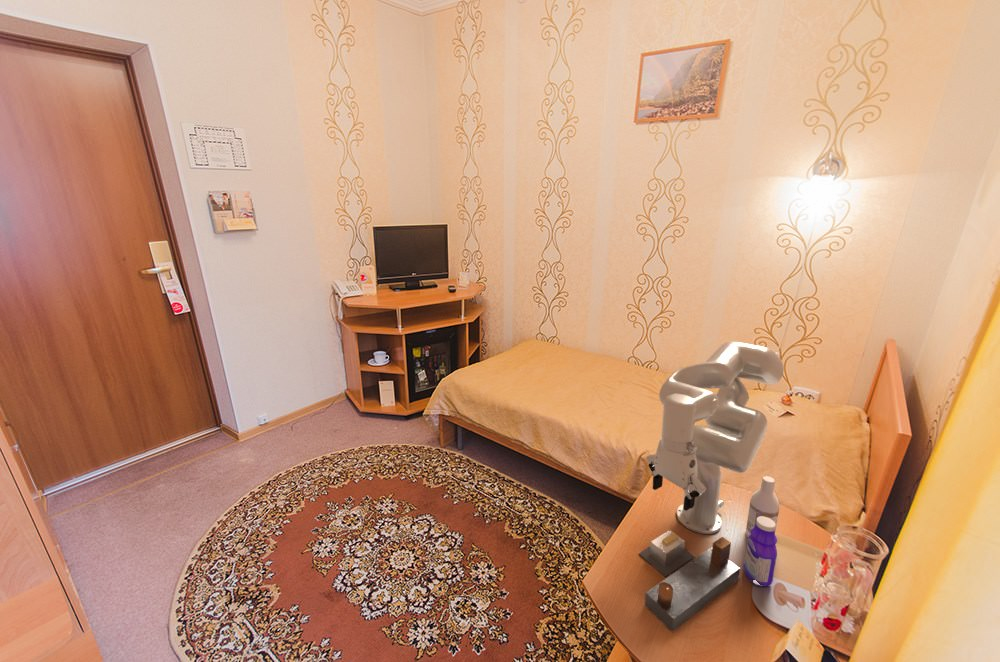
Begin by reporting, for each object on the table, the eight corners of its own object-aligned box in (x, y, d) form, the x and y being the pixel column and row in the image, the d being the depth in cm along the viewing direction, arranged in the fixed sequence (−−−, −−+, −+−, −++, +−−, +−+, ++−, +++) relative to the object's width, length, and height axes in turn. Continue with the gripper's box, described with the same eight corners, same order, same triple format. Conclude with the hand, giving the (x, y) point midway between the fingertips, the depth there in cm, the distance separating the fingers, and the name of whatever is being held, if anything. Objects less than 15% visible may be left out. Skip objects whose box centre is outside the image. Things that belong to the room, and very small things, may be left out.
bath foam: (758, 549, 115) (768, 489, 110) (739, 531, 122) (748, 474, 116) (779, 544, 117) (790, 484, 111) (759, 527, 123) (768, 469, 118)
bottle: (739, 564, 111) (747, 511, 106) (761, 566, 110) (770, 512, 105) (752, 588, 104) (761, 532, 99) (776, 589, 103) (786, 533, 98)
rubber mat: (667, 537, 121) (667, 535, 121) (694, 557, 113) (694, 556, 113) (639, 554, 115) (639, 553, 115) (665, 577, 108) (665, 575, 108)
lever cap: (668, 542, 118) (669, 528, 117) (683, 554, 114) (685, 539, 113) (649, 554, 114) (650, 539, 113) (664, 567, 110) (666, 551, 109)
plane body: (709, 559, 113) (713, 529, 110) (738, 580, 106) (743, 549, 103) (644, 605, 100) (646, 573, 98) (672, 632, 94) (675, 598, 91)
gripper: (717, 452, 99) (711, 511, 104) (658, 423, 113) (655, 476, 118) (698, 463, 95) (692, 523, 100) (640, 431, 110) (637, 485, 115)
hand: (672, 497), depth 109 cm, fingers open, 9 cm apart
